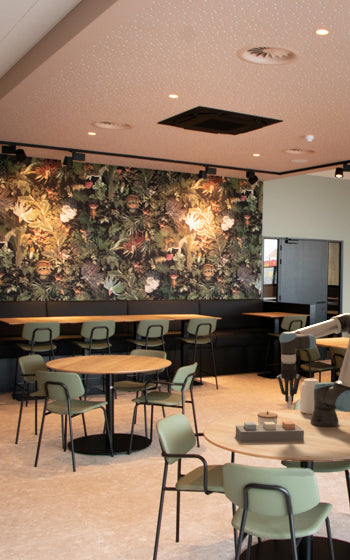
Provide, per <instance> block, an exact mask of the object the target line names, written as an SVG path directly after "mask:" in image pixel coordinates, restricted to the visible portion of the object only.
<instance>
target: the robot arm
mask: <svg viewBox="0 0 350 560" xmlns="http://www.w3.org/2000/svg"><path fill="white" fill-rule="evenodd" d="M341 333H347V336H348V338H349V340H348V344H347V347H346V351H345V354H344V357H343V361H342V365H341V368H340V372H339V376H338V380H336V381H334V382H333V381H332V382H328V381H327V382H325V381H323V382H318V383H316V384H315V387H314V411H313V414H311V417H310V424H311V425H313V426H317V427H324V428H332V427H337V426H339V418H338V415H337V411H336V410H338V411H340V412H346V413H347V412H350V312H345V313H342V314H341V313H340V314H339V315H336V316H332V317H330V319H328V320H326V321H322V322H318V323H315V324H312V325H309V326H306V327H303V328H299V329H297V330H294V331H283V332H282V333H281V334H280V335H279V338H278V339H279V340H278V341H279V343H280V354H281V355H280V356H281V357H280V360H281V364H280V366H281V367H280V368H281V369H280V374H278V375H277V376H276V377H275V378H276V379H277V381H278V384H279V388H280V393H281V394H282V395H284V400H285V402H286V407H287V409H288V410H291V409H292V406H293V405H292V402H294V396H295V395H297V393H298V389H299V386H300V385H299V384H300V380H302V379H301V378H302V375H300V374H298V372H297V363H296V362H297V351H302V350H312V349H315V347H316V346H317V339H320V338H322V337H325V336H326V337H327V336H328V335H331V334H336V335H339V334H341ZM283 380H284V384H283ZM294 380H295V382H294Z"/></svg>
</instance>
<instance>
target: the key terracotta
mask: <svg viewBox="0 0 350 560" xmlns="http://www.w3.org/2000/svg"><path fill="white" fill-rule="evenodd" d="M281 425H282V428H284V429H295V425H296V424H295V423H294V422H293V421H282V423H281Z"/></svg>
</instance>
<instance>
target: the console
mask: <svg viewBox="0 0 350 560" xmlns="http://www.w3.org/2000/svg"><path fill="white" fill-rule="evenodd" d="M235 436H236V438H237V439H238V440H239V441H240V443H253V442H255V443H257V442H259V443H260V442H261V443H262V442H302V441H303V442H304V441H305V430H304V429H303V428H301V427H300V426H299V425H298V424H295V429H284V428H282V424H276V430H265V429H264V428H263V425H259V424H258V425H257V424H256V430H245V429H244V425H235Z"/></svg>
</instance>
